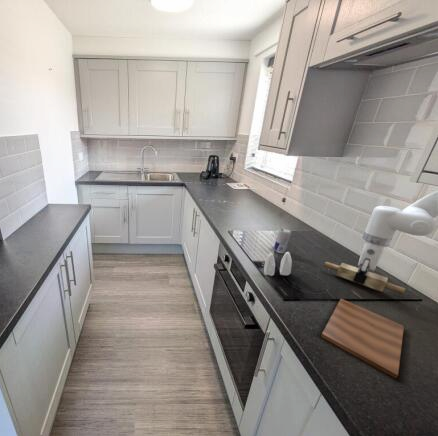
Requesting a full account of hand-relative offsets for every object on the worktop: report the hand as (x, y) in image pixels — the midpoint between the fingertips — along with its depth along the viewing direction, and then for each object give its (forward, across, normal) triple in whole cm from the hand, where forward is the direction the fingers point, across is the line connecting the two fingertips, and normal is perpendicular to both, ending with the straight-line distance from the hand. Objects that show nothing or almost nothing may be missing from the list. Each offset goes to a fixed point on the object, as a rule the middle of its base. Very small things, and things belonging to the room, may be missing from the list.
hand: (359, 279), depth 92 cm
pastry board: (+3, -30, -6) cm, 31 cm away
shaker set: (+3, -18, +24) cm, 31 cm away
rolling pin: (+1, 0, 0) cm, 1 cm away
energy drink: (+2, +4, +32) cm, 32 cm away
